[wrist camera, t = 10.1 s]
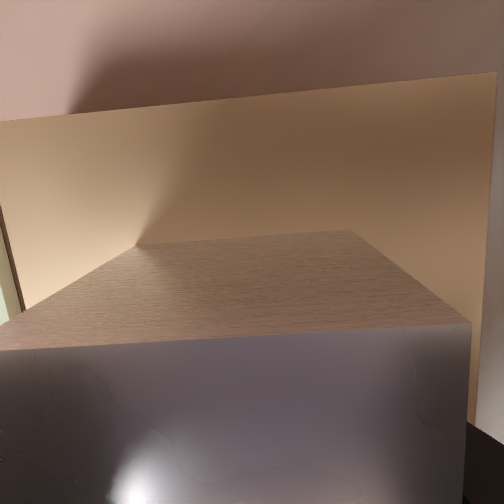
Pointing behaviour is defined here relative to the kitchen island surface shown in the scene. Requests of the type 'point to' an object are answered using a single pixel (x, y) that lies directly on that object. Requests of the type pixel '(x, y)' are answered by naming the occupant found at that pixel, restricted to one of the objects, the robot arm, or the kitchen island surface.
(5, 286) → the felt mat
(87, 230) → the base
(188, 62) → the kitchen island surface
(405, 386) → the white boxy block
